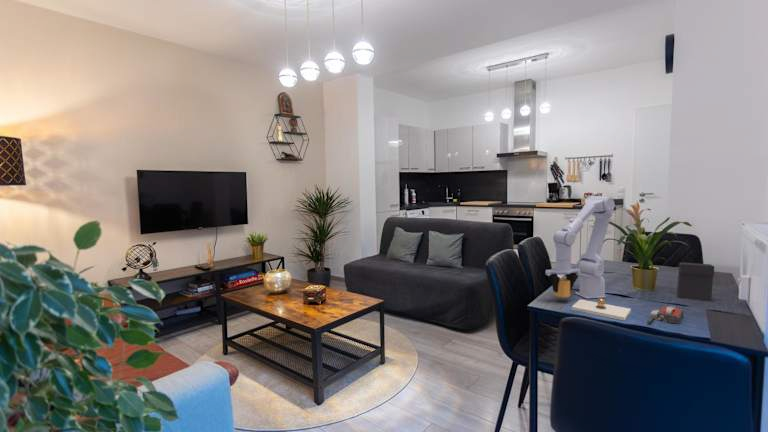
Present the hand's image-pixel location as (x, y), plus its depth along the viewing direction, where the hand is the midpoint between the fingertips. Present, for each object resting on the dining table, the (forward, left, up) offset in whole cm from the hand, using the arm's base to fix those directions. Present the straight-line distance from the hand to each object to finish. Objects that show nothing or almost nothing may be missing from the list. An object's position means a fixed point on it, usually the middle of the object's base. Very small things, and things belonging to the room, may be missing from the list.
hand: (562, 291), depth 159 cm
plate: (-8, +13, -4) cm, 16 cm away
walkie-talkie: (-24, +25, -5) cm, 35 cm away
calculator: (-57, +6, -5) cm, 57 cm away
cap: (0, 0, -2) cm, 2 cm away
